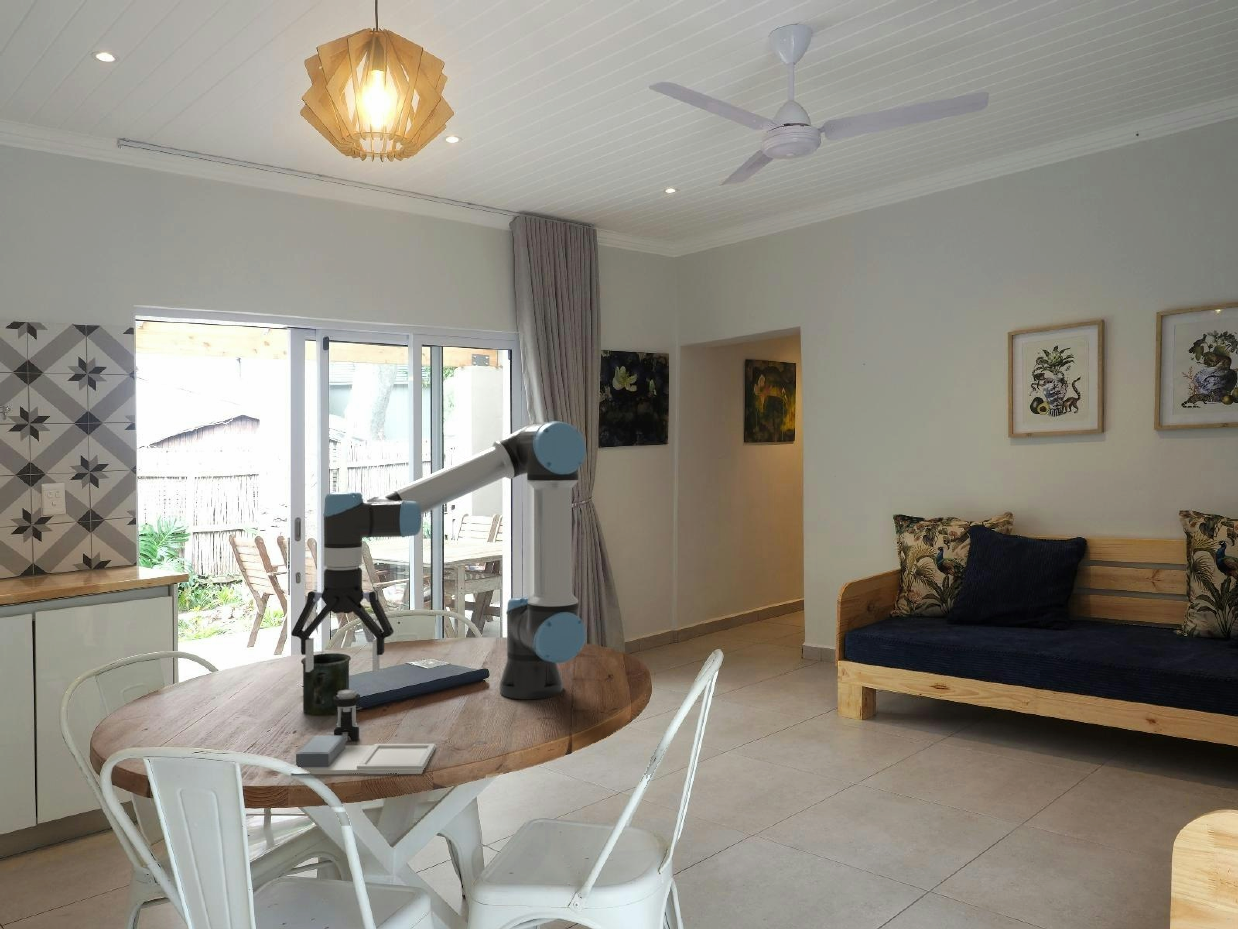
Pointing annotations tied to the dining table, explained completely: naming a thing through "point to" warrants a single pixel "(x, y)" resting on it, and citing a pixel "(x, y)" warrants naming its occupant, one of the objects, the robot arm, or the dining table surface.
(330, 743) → the blue-grey rectangular block
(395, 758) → the board
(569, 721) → the dining table surface
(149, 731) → the dining table surface
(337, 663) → the mug
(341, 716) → the push button
